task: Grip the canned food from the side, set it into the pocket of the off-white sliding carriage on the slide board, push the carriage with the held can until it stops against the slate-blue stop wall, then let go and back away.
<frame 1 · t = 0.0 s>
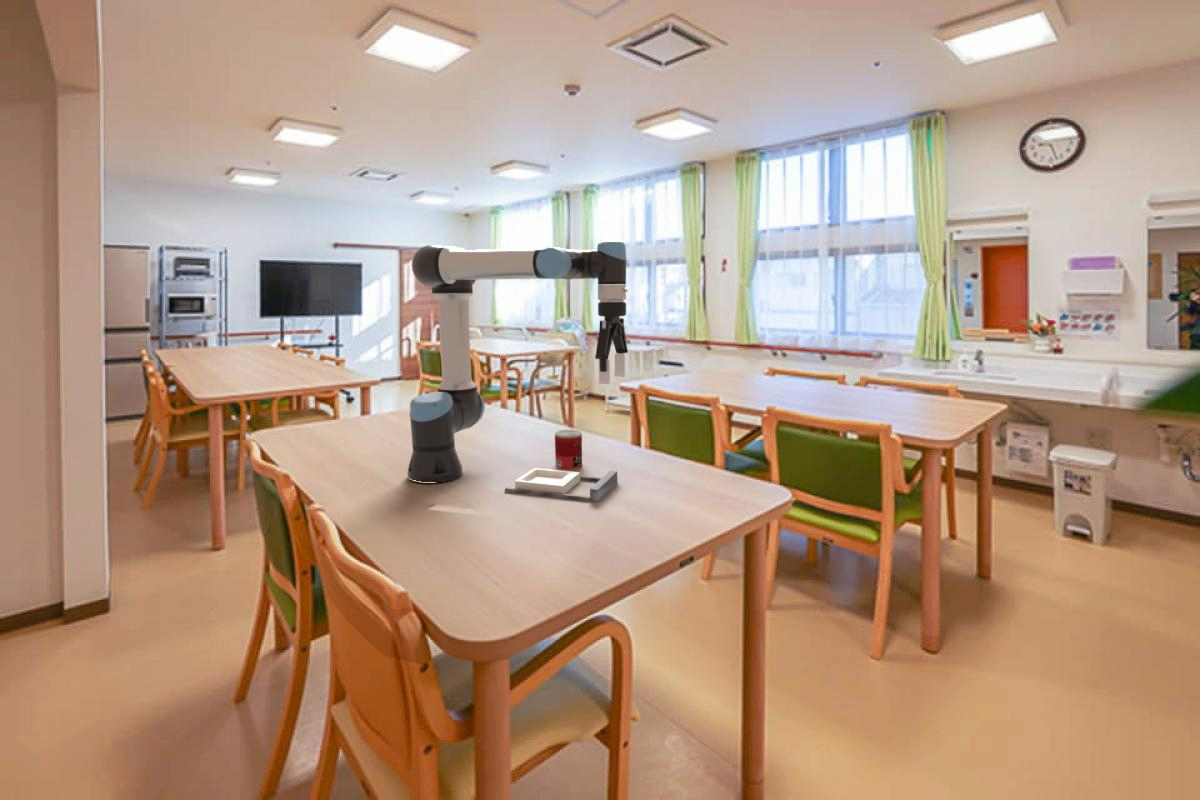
hand: (612, 380, 166), 28 cm above the table, tool pointing down, fingers open, 13 cm apart
slide board: (564, 491, 161), on the table
carriage: (548, 481, 162), point 2 cm above the table, slide at 0.0 cm
canned food: (568, 469, 181), on the table
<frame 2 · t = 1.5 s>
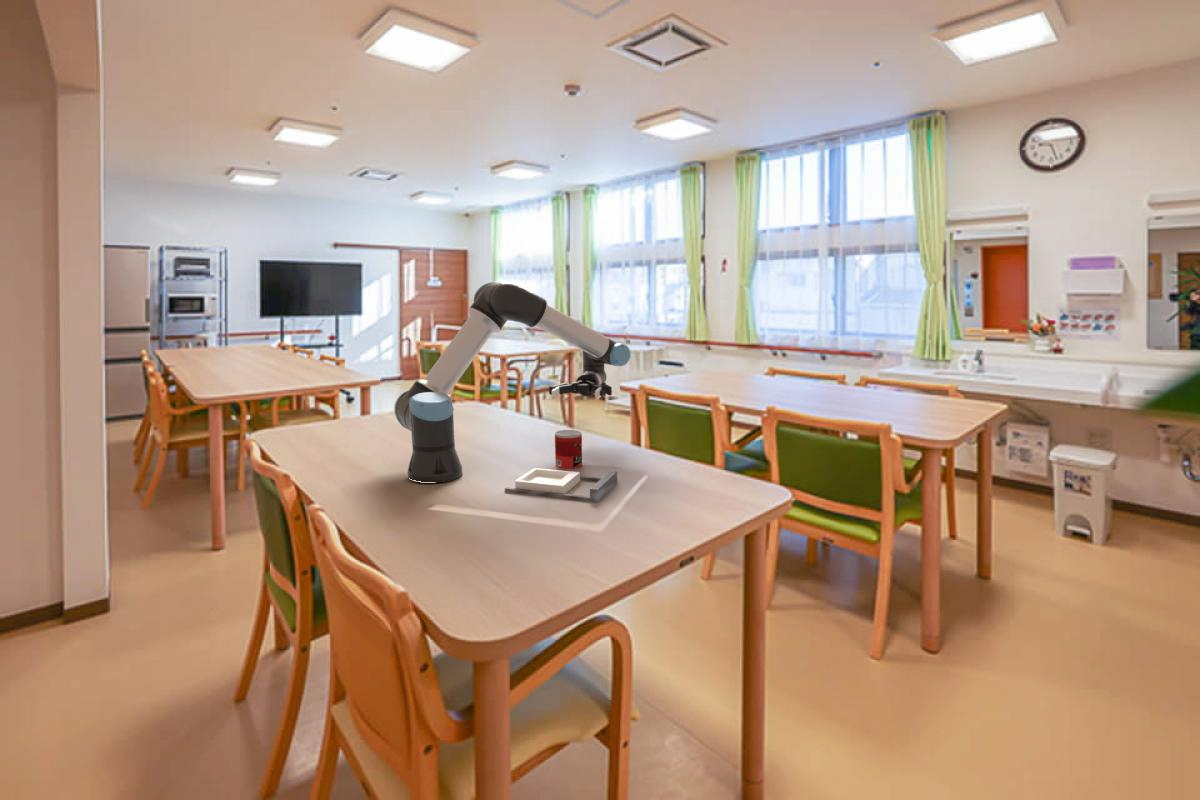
hand: (574, 395, 185), 21 cm above the table, tool horizontal, fingers open, 13 cm apart
nothing on the table moved.
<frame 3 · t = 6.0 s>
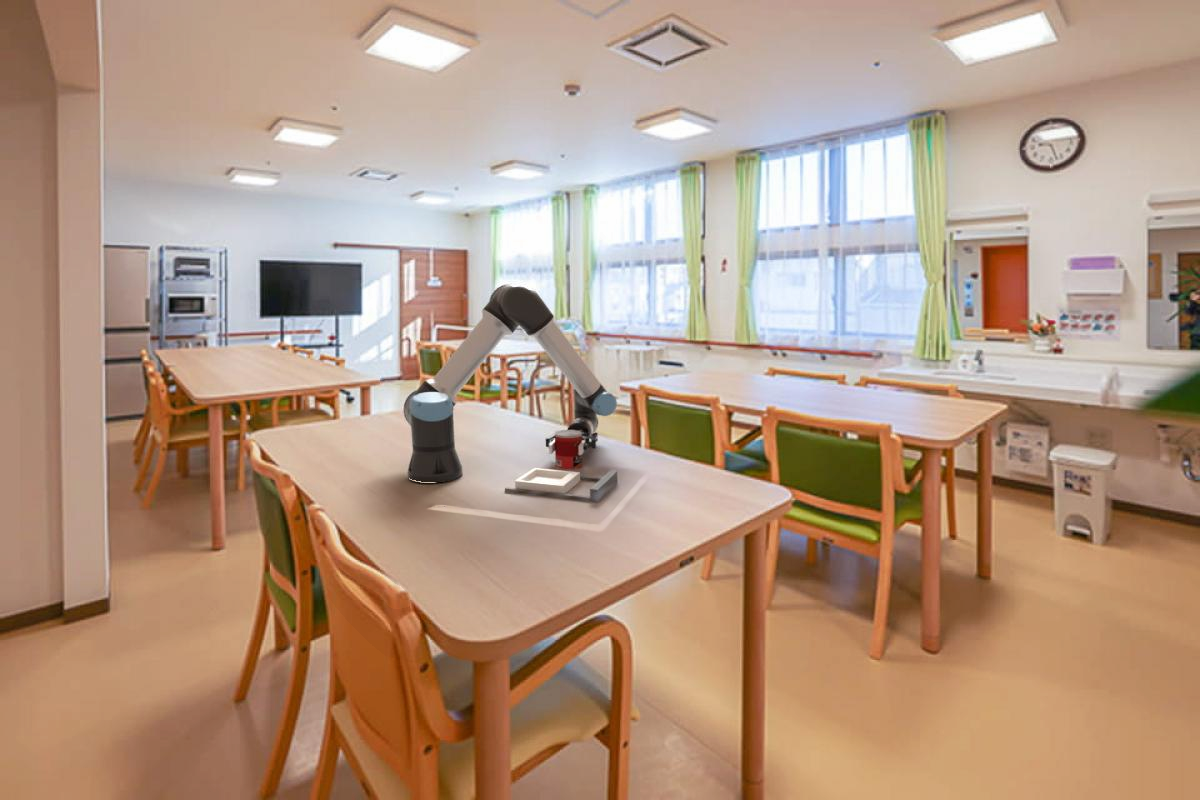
hand: (565, 450, 175), 7 cm above the table, tool horizontal, fingers closed on canned food, 8 cm apart
canned food: (568, 469, 181), on the table, touching gripper
everything else where it was.
when the fingers open (9 cm above the table, at t = 14.7 s): canned food stays where it is, resting on carriage.
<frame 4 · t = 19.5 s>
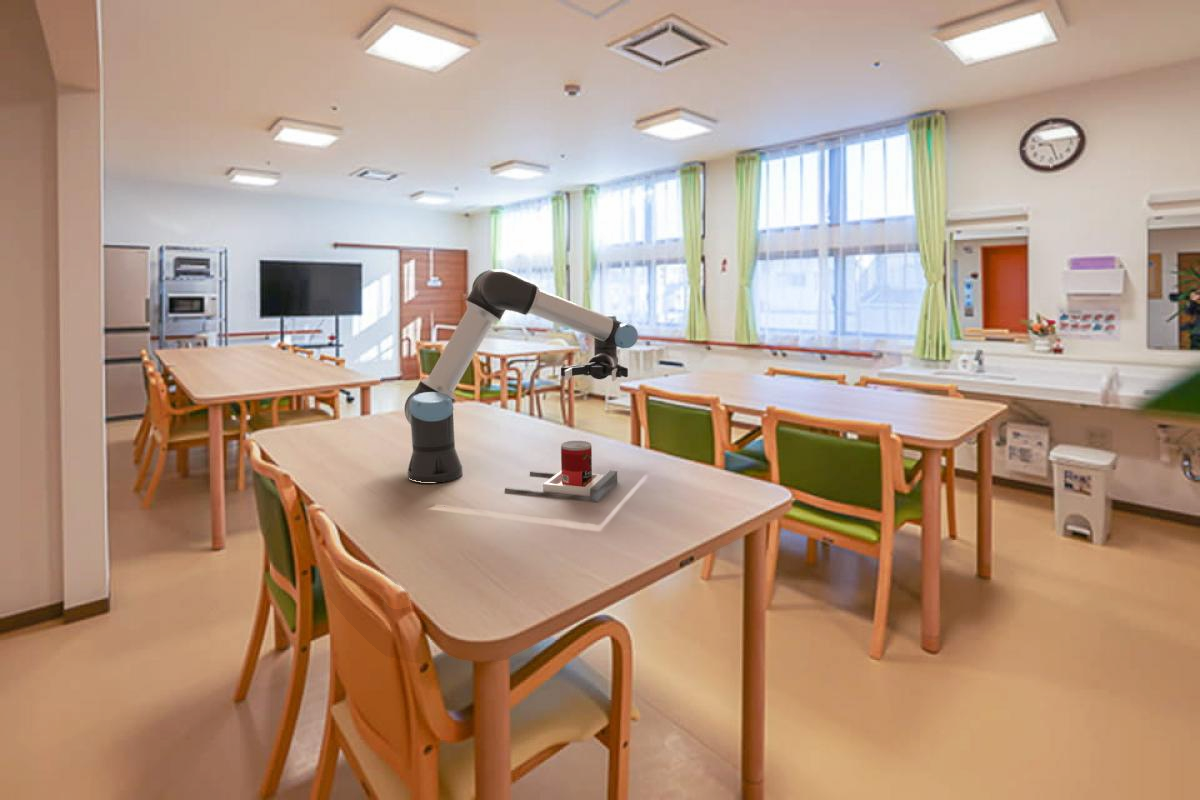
hand: (589, 375, 174), 28 cm above the table, tool horizontal, fingers open, 13 cm apart
carriage: (576, 483, 159), point 2 cm above the table, slide at 8.0 cm, touching canned food
canned food: (576, 485, 159), point 2 cm above the table, touching carriage
at the end: carriage slide at 8.0 cm; canned food 0.9 cm off-centre on the carriage, point 0.8 cm above the carriage's base; canned food tilted 0° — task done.
